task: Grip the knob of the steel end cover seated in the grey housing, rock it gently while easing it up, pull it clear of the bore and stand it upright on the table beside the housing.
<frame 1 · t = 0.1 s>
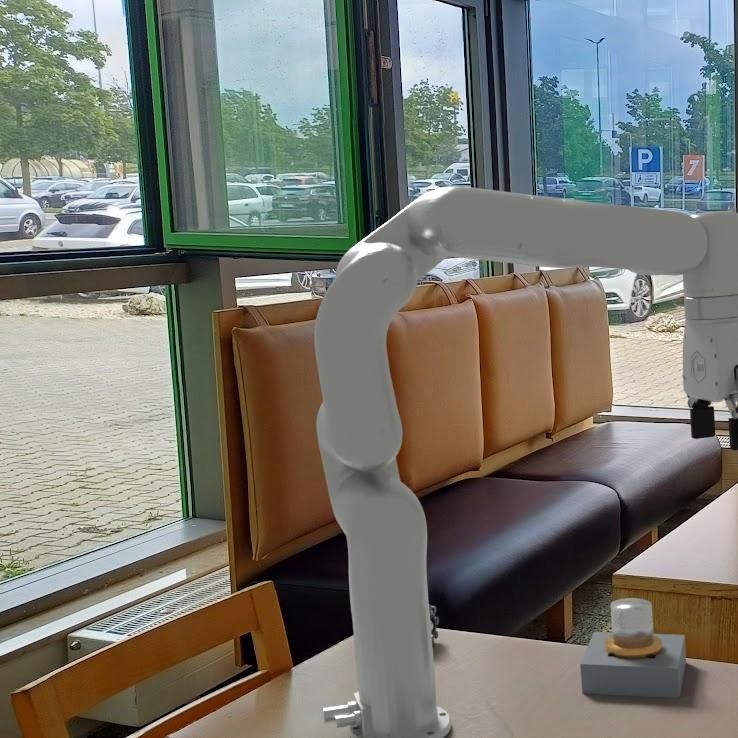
hand: (722, 443, 146), 31 cm above the table, tool pointing down, fingers open, 9 cm apart
valve: (396, 647, 172), on the table
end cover: (635, 677, 149), point 1 cm above the table, touching housing
housing: (636, 686, 149), on the table
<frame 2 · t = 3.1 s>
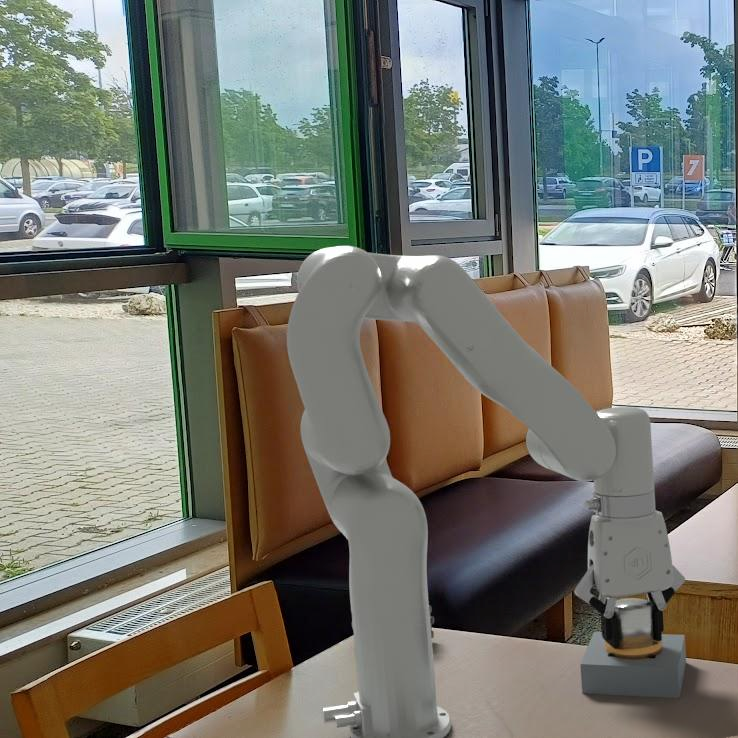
hand: (633, 639, 149), 6 cm above the table, tool pointing down, fingers closed on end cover, 5 cm apart
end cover: (635, 677, 149), point 1 cm above the table, touching gripper, housing
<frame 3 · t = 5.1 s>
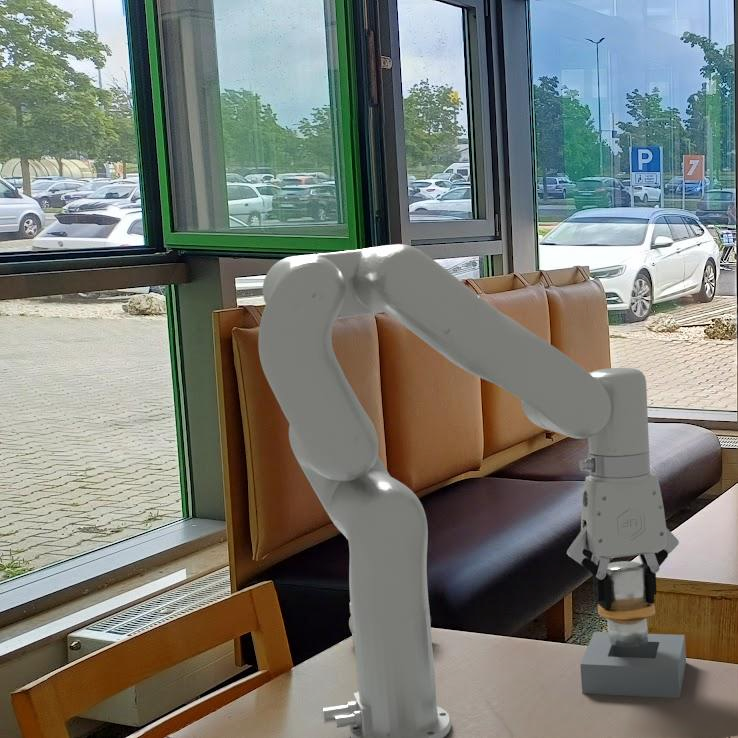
hand: (625, 602, 148), 11 cm above the table, tool pointing down, fingers closed on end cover, 5 cm apart
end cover: (628, 640, 148), point 6 cm above the table, touching gripper
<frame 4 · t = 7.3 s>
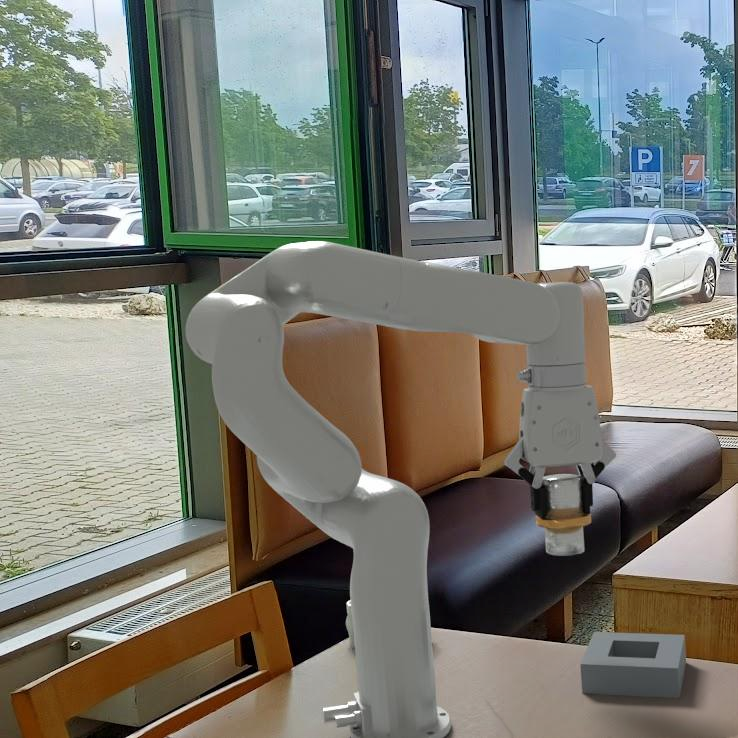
hand: (562, 512, 151), 23 cm above the table, tool pointing down, fingers closed on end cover, 5 cm apart
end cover: (565, 550, 151), point 18 cm above the table, touching gripper
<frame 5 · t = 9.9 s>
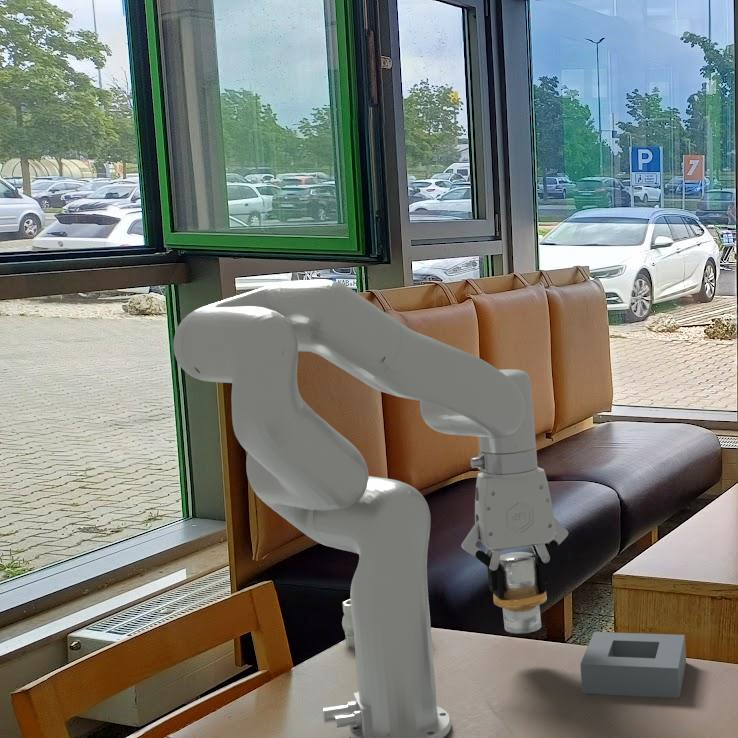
hand: (519, 591, 156), 12 cm above the table, tool pointing down, fingers closed on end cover, 5 cm apart
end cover: (522, 627, 156), point 6 cm above the table, touching gripper
when the fingers open (6 cm above the table, at t = 11.8 s): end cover drops 1 cm, on the table.
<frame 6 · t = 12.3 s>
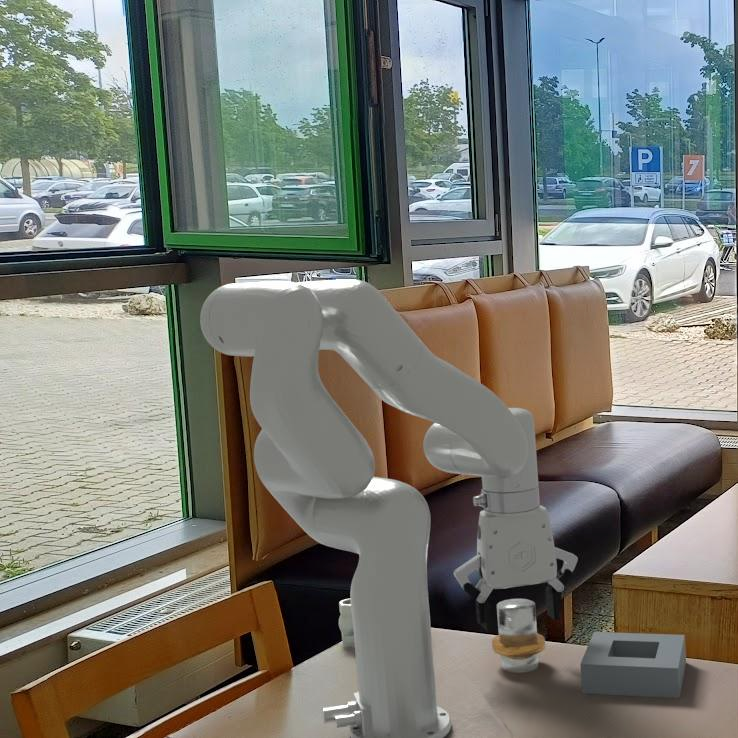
hand: (520, 623, 156), 7 cm above the table, tool pointing down, fingers open, 9 cm apart
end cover: (520, 674, 157), on the table
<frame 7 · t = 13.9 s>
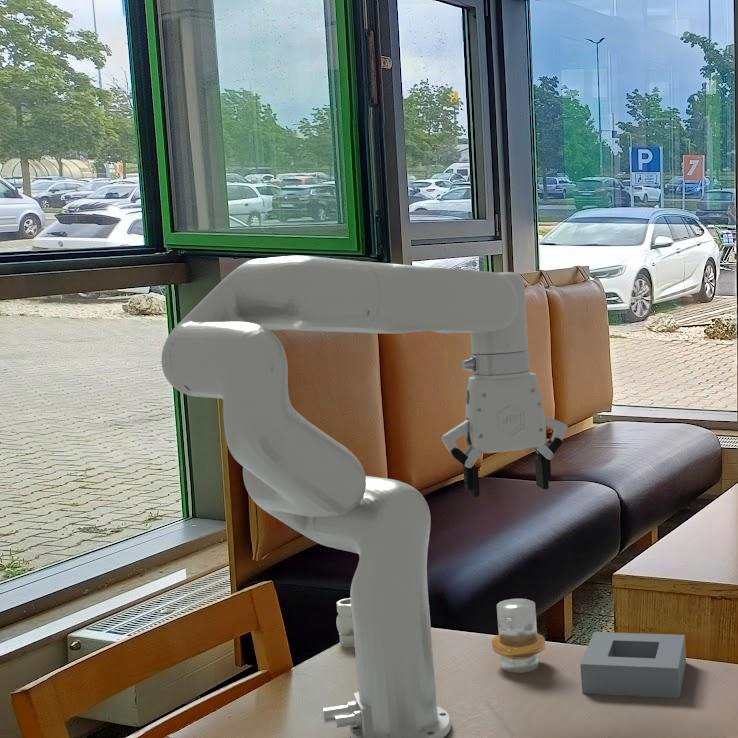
hand: (508, 491, 154), 25 cm above the table, tool pointing down, fingers open, 9 cm apart
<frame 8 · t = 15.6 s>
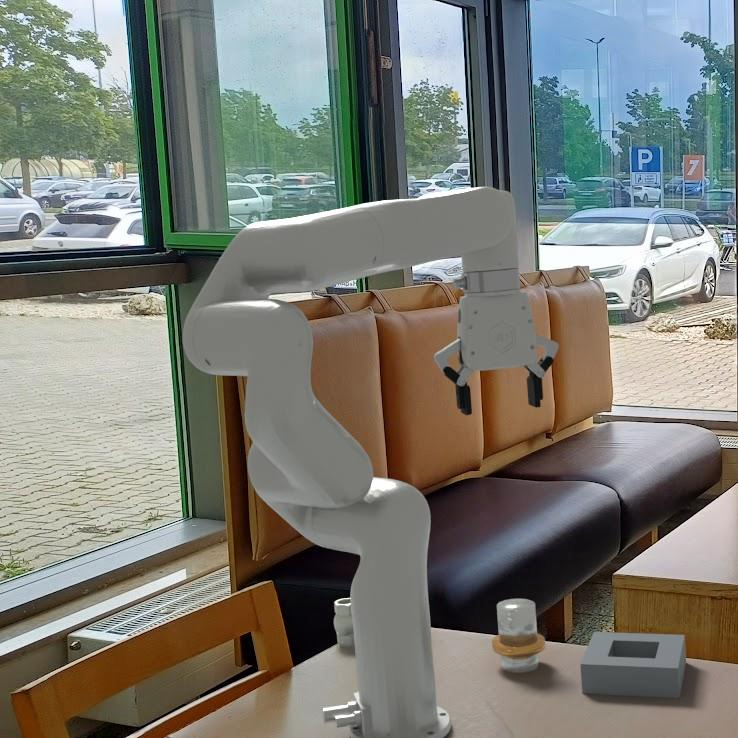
hand: (500, 410, 155), 36 cm above the table, tool pointing down, fingers open, 9 cm apart
at the end: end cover inside the target area (0.5 cm from its centre), on the table; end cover tilted 0°; the gripper is holding nothing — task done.
